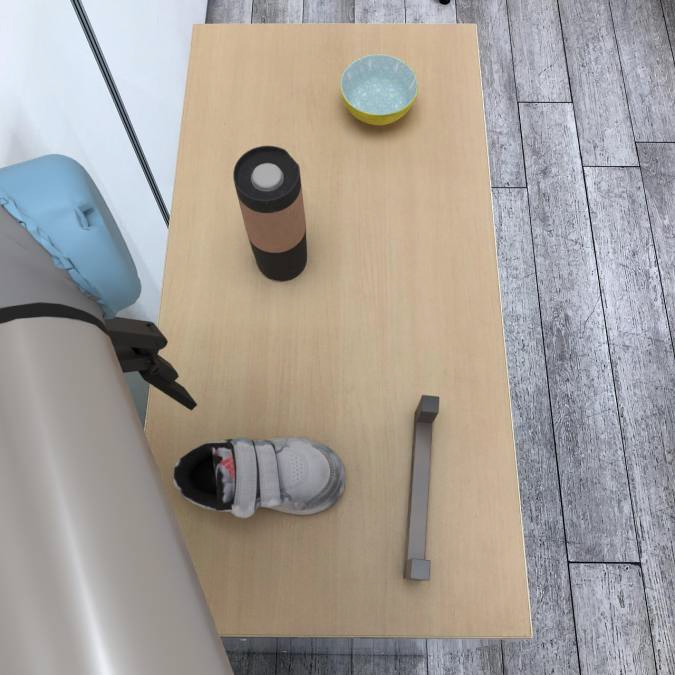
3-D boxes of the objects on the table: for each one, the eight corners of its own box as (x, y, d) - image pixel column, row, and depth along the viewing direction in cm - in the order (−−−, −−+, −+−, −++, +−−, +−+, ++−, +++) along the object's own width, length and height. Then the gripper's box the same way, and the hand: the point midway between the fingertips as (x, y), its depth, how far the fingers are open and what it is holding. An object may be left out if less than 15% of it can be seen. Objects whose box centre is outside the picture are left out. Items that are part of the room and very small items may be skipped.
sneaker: (345, 523, 75) (346, 515, 66) (182, 524, 75) (160, 516, 66) (344, 438, 79) (345, 418, 70) (189, 439, 79) (169, 420, 70)
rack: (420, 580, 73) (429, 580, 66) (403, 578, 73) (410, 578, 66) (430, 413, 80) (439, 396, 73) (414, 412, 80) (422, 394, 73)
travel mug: (250, 279, 87) (225, 197, 69) (260, 232, 90) (239, 140, 71) (304, 286, 87) (294, 205, 68) (313, 238, 90) (305, 148, 71)
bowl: (396, 153, 95) (399, 125, 89) (327, 126, 97) (326, 97, 91) (425, 99, 99) (430, 69, 93) (358, 74, 100) (360, 43, 95)
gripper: (38, 181, 43) (213, 332, 59) (-244, 446, 41) (18, 525, 57) (73, 227, 38) (253, 377, 54) (-243, 528, 36) (42, 588, 53)
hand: (133, 453), depth 56 cm, fingers open, 13 cm apart
